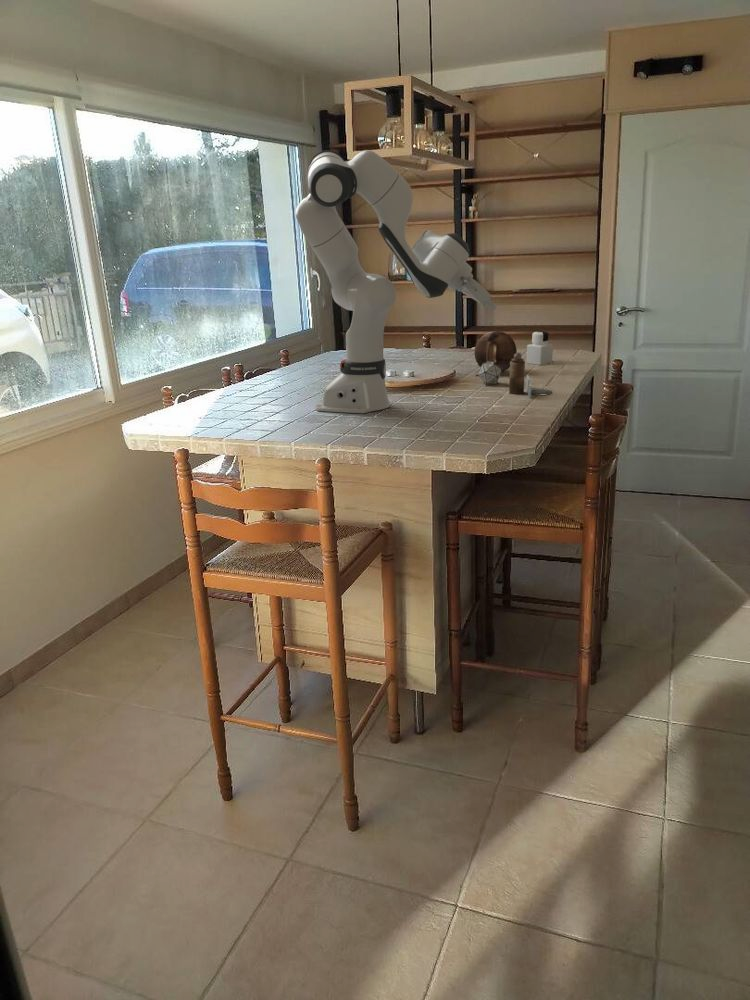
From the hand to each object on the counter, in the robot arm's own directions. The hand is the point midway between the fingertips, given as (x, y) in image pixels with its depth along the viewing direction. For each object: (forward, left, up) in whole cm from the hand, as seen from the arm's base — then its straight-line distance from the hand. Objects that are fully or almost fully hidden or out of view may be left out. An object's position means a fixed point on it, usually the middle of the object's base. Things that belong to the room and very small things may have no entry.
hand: (489, 306), depth 230 cm
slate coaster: (+16, +5, -28) cm, 33 cm away
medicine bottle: (+19, +60, -28) cm, 69 cm away
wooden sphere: (+2, +40, -28) cm, 49 cm away
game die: (0, +19, -28) cm, 34 cm away
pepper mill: (+9, +5, -28) cm, 29 cm away
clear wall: (+13, +5, -28) cm, 31 cm away
